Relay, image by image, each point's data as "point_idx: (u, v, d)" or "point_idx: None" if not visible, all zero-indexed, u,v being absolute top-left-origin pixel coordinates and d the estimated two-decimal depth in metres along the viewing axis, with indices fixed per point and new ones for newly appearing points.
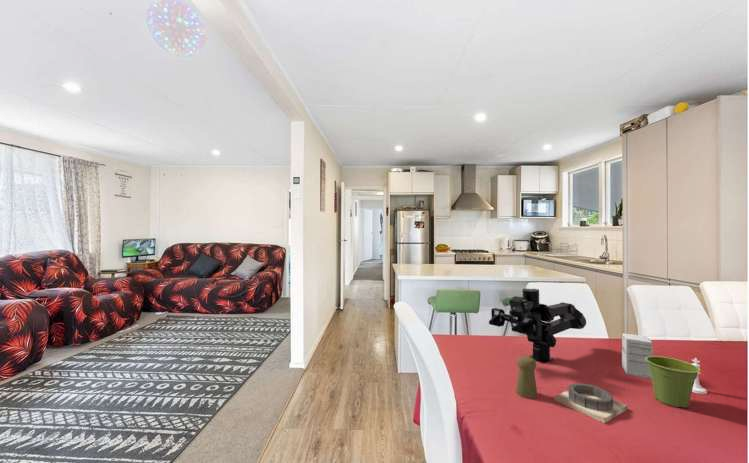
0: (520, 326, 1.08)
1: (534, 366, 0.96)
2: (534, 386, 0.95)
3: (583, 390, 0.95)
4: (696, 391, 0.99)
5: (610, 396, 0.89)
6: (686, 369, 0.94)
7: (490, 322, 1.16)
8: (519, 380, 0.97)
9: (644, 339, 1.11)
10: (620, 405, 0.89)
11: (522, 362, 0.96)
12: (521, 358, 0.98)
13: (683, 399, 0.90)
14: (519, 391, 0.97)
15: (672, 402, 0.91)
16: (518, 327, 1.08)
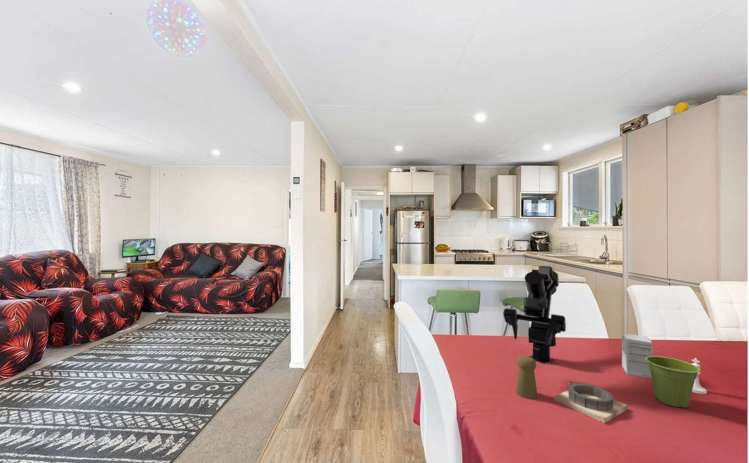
0: (550, 335, 1.02)
1: (534, 366, 0.96)
2: (534, 386, 0.95)
3: (583, 390, 0.95)
4: (696, 391, 0.99)
5: (610, 396, 0.89)
6: (686, 369, 0.94)
7: (515, 337, 1.07)
8: (519, 380, 0.97)
9: (644, 339, 1.11)
10: (620, 405, 0.89)
11: (522, 362, 0.96)
12: (521, 358, 0.98)
13: (683, 399, 0.90)
14: (519, 391, 0.97)
15: (672, 402, 0.91)
16: (549, 338, 1.02)
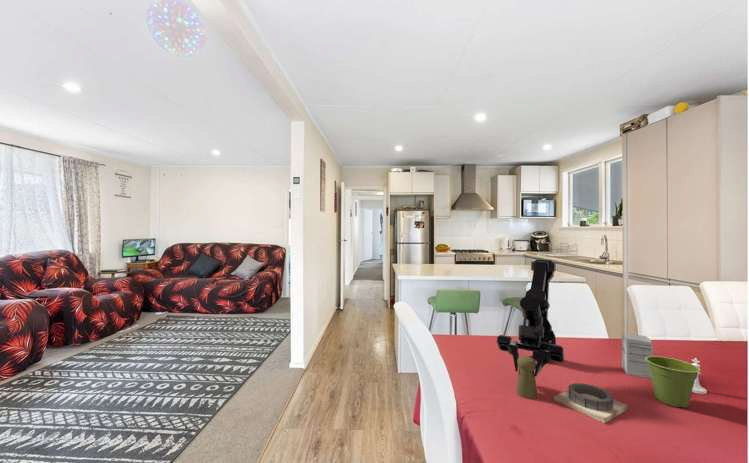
0: (540, 366, 0.96)
1: (534, 366, 0.96)
2: (534, 386, 0.95)
3: (583, 390, 0.95)
4: (696, 391, 0.99)
5: (610, 396, 0.89)
6: (686, 369, 0.94)
7: (517, 370, 0.98)
8: (519, 380, 0.97)
9: (644, 339, 1.11)
10: (620, 405, 0.89)
11: (522, 362, 0.96)
12: (521, 358, 0.98)
13: (683, 399, 0.90)
14: (519, 391, 0.97)
15: (672, 402, 0.91)
16: (539, 368, 0.96)
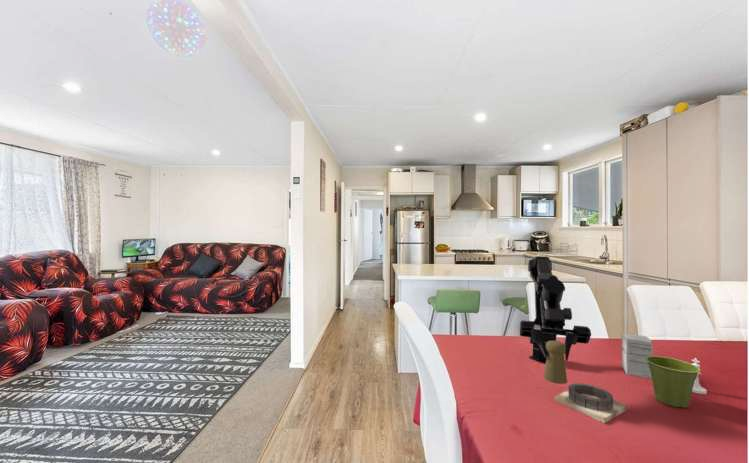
0: None
1: (565, 350, 0.92)
2: (565, 370, 0.92)
3: (583, 390, 0.95)
4: (696, 391, 0.99)
5: (610, 396, 0.89)
6: (686, 369, 0.94)
7: (546, 355, 0.94)
8: (549, 365, 0.93)
9: (644, 339, 1.11)
10: (620, 405, 0.89)
11: (554, 347, 0.92)
12: (551, 342, 0.94)
13: (683, 399, 0.90)
14: (550, 377, 0.92)
15: (672, 402, 0.91)
16: None
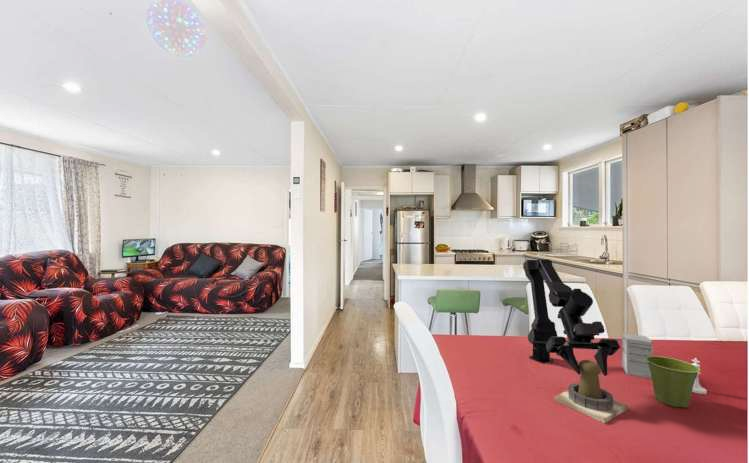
0: None
1: None
2: (600, 391, 0.90)
3: None
4: (696, 391, 0.99)
5: (610, 396, 0.89)
6: (686, 369, 0.94)
7: None
8: (586, 387, 0.90)
9: (644, 339, 1.11)
10: (620, 405, 0.89)
11: (591, 368, 0.90)
12: (586, 363, 0.91)
13: (683, 399, 0.90)
14: None
15: (672, 402, 0.91)
16: None
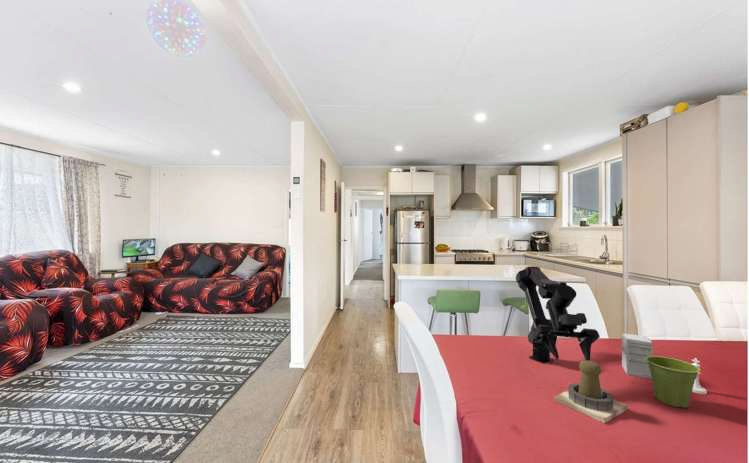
0: None
1: (600, 370, 0.90)
2: (600, 391, 0.90)
3: None
4: (696, 391, 0.99)
5: (610, 396, 0.89)
6: (686, 369, 0.94)
7: None
8: (586, 388, 0.90)
9: (644, 339, 1.11)
10: (620, 405, 0.89)
11: (592, 368, 0.89)
12: (587, 363, 0.91)
13: (683, 399, 0.90)
14: None
15: (672, 402, 0.91)
16: None
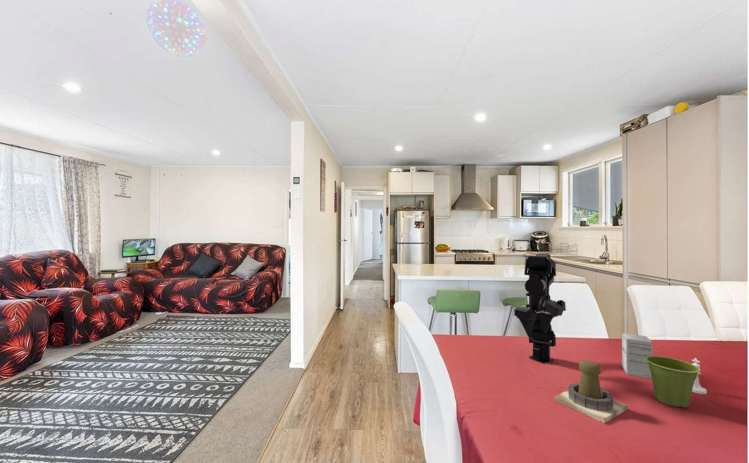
0: None
1: (600, 370, 0.90)
2: (600, 391, 0.90)
3: None
4: (696, 391, 0.99)
5: (610, 396, 0.89)
6: (686, 369, 0.94)
7: None
8: (586, 388, 0.90)
9: (644, 339, 1.11)
10: (620, 405, 0.89)
11: (591, 368, 0.89)
12: (586, 363, 0.91)
13: (683, 399, 0.90)
14: None
15: (672, 402, 0.91)
16: None
